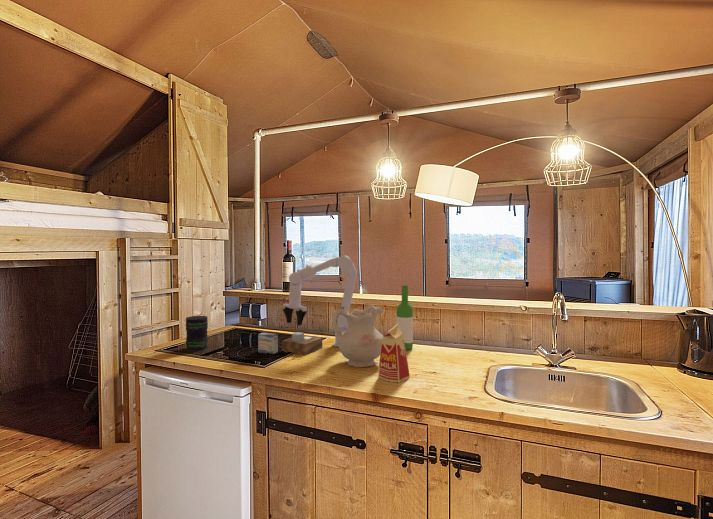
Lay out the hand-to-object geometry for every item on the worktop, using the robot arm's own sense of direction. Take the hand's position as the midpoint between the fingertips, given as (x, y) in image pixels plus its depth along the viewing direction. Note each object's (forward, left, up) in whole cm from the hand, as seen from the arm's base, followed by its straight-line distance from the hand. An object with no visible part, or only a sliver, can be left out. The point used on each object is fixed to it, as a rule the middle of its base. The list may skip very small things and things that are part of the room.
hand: (294, 323), depth 199 cm
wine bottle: (-50, -20, -11) cm, 55 cm away
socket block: (-9, +5, -10) cm, 15 cm away
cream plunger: (-9, +2, -10) cm, 14 cm away
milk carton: (-62, +22, -11) cm, 67 cm away
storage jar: (+37, +27, -11) cm, 47 cm away
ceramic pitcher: (-42, +12, -11) cm, 45 cm away
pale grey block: (-9, +9, -7) cm, 14 cm away
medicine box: (+3, +16, -11) cm, 20 cm away
